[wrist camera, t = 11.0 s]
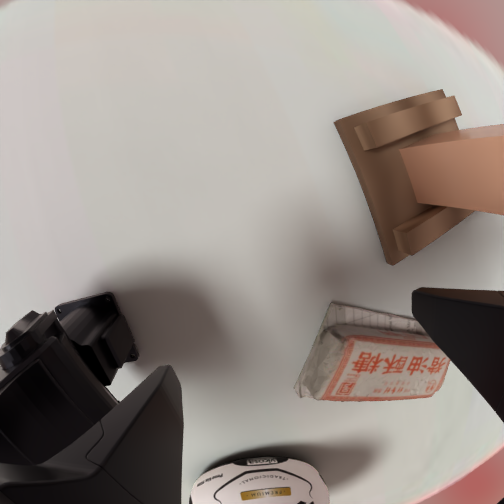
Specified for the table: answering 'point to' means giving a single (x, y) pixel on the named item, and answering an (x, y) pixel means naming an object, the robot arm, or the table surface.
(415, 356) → the packaged product
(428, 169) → the clay bar
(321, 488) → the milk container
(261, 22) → the table surface
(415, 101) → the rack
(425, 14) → the table surface
